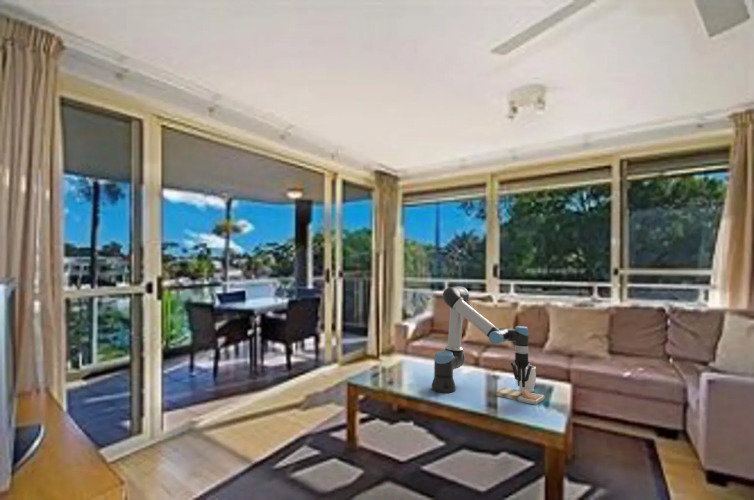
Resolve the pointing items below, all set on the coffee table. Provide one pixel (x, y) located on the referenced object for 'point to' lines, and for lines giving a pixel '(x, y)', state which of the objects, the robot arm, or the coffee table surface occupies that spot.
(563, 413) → the coffee table surface
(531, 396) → the tile front
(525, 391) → the tile rear
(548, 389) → the coffee table surface
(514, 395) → the board
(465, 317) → the robot arm
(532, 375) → the jar
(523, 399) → the tray
